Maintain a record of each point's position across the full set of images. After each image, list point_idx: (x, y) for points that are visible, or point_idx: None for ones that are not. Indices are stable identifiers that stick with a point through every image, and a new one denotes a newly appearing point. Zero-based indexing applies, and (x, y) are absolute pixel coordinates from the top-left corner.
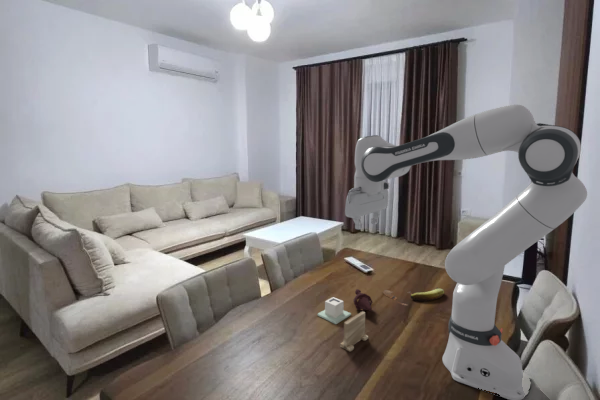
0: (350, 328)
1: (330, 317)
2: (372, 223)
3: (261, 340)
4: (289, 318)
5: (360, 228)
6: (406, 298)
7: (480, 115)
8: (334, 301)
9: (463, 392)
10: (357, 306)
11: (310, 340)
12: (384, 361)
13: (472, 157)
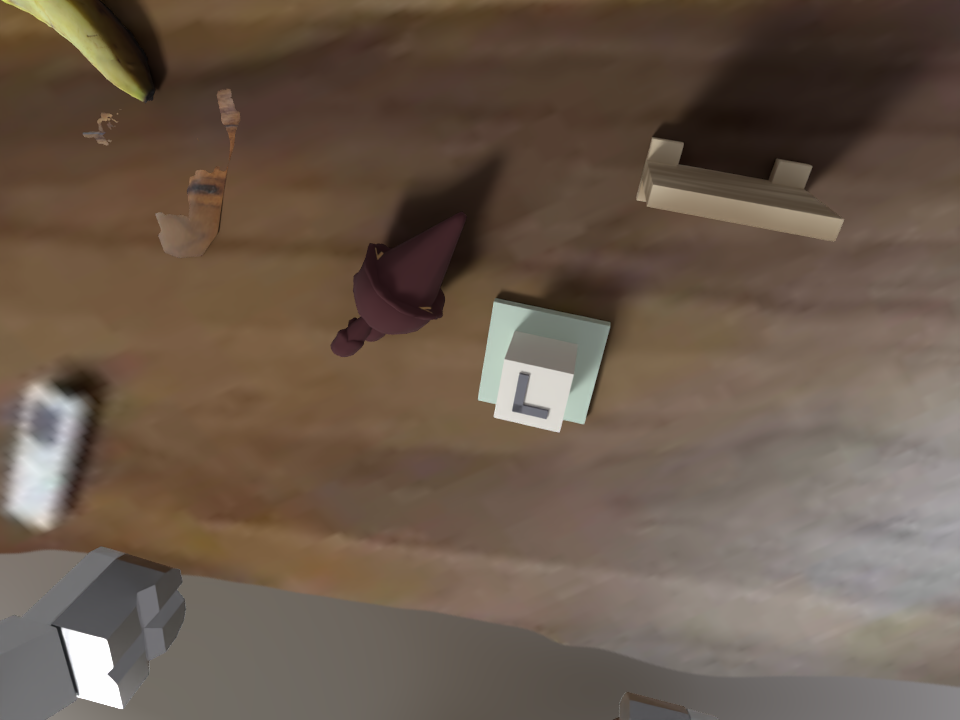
0: (797, 202)
1: (583, 364)
2: (182, 609)
3: (884, 515)
4: (669, 500)
5: (684, 713)
6: (165, 123)
7: None
8: (534, 394)
9: None
10: (438, 296)
11: (795, 358)
12: None
13: None
